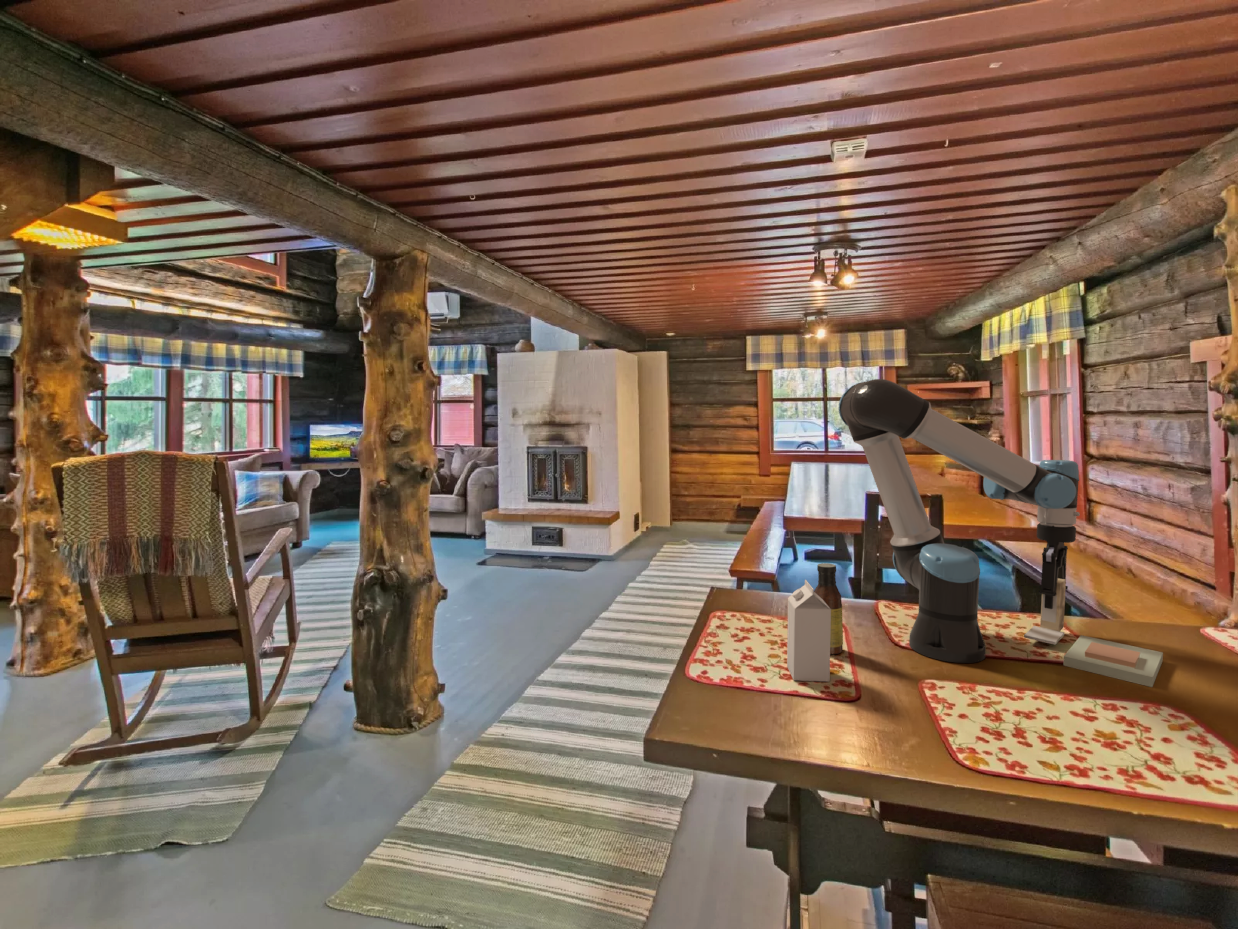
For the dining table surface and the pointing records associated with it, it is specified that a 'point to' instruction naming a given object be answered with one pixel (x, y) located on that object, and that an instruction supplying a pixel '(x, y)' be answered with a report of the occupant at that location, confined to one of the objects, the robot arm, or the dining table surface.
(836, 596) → the sauce bottle
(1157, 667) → the grooved block
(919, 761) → the dining table surface
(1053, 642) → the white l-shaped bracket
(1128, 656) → the tile
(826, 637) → the milk carton
